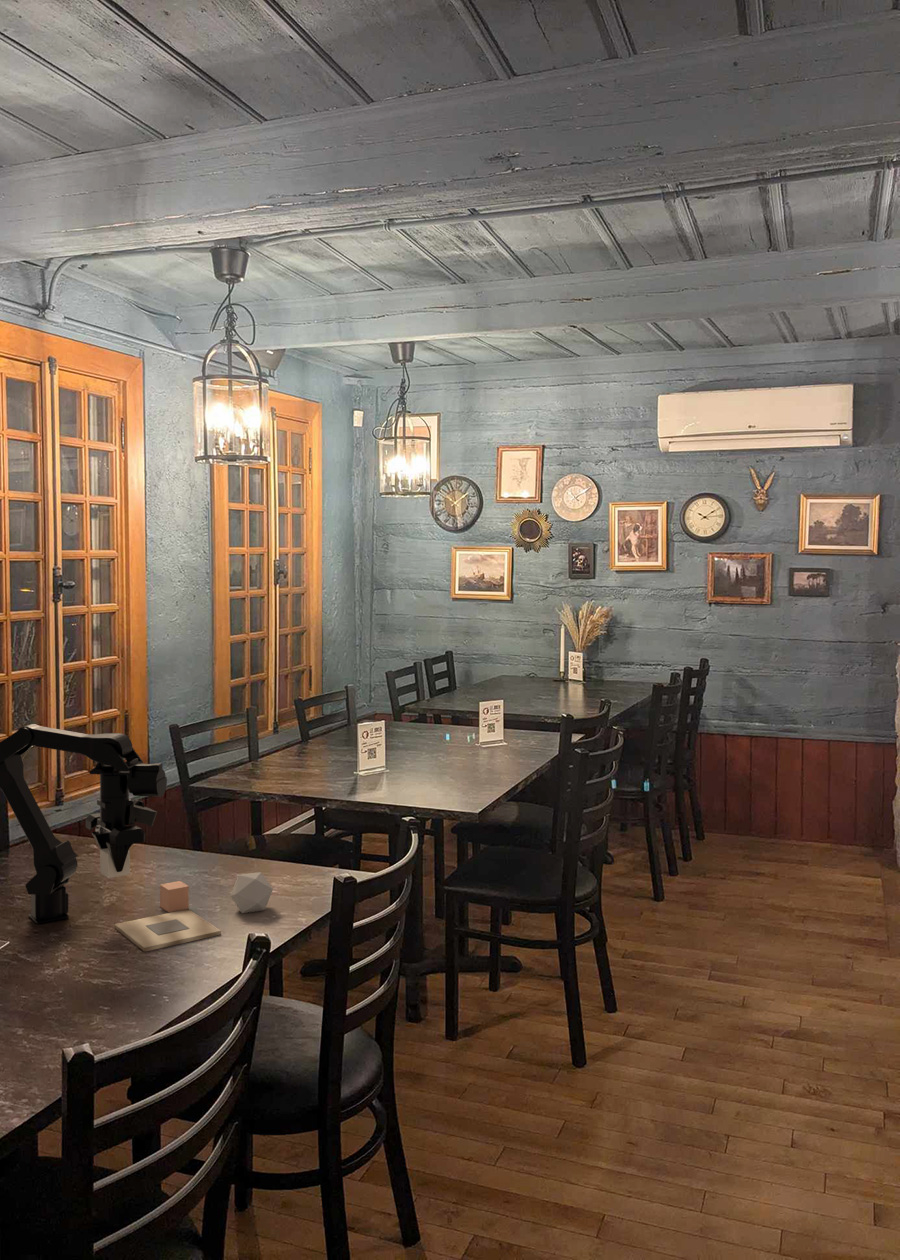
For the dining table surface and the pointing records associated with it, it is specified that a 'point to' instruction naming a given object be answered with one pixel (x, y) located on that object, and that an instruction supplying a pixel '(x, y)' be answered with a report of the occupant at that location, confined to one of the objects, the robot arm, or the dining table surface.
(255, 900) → the die
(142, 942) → the tan board
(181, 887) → the terracotta block
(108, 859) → the cream block
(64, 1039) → the dining table surface
